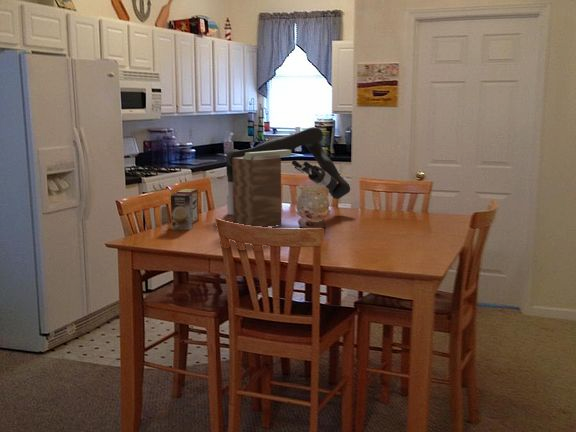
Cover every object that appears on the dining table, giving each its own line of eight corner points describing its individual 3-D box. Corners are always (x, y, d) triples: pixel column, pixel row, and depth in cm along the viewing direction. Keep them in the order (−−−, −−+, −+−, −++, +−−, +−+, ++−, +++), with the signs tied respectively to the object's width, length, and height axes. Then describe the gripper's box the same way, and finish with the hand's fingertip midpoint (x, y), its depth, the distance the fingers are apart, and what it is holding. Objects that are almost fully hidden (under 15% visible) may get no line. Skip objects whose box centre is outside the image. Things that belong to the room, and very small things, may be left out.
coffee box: (170, 229, 294) (169, 195, 291) (174, 227, 300) (173, 193, 297) (190, 230, 293) (189, 195, 290) (193, 227, 299) (192, 193, 296)
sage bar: (245, 159, 290) (245, 152, 289) (285, 155, 305) (285, 149, 304) (250, 160, 287) (250, 153, 286) (291, 156, 302) (291, 150, 301)
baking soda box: (190, 224, 306) (189, 191, 303) (178, 223, 308) (176, 190, 305) (198, 220, 315) (197, 188, 312) (186, 220, 317) (185, 188, 314)
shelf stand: (233, 225, 303) (232, 154, 297) (260, 220, 313) (259, 152, 307) (254, 230, 291) (253, 157, 285) (281, 225, 301) (280, 154, 295)
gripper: (312, 168, 324) (291, 154, 314) (332, 171, 314) (311, 156, 303) (307, 182, 323) (286, 168, 313) (326, 184, 313) (305, 170, 302)
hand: (298, 162), depth 308 cm, fingers open, 8 cm apart
